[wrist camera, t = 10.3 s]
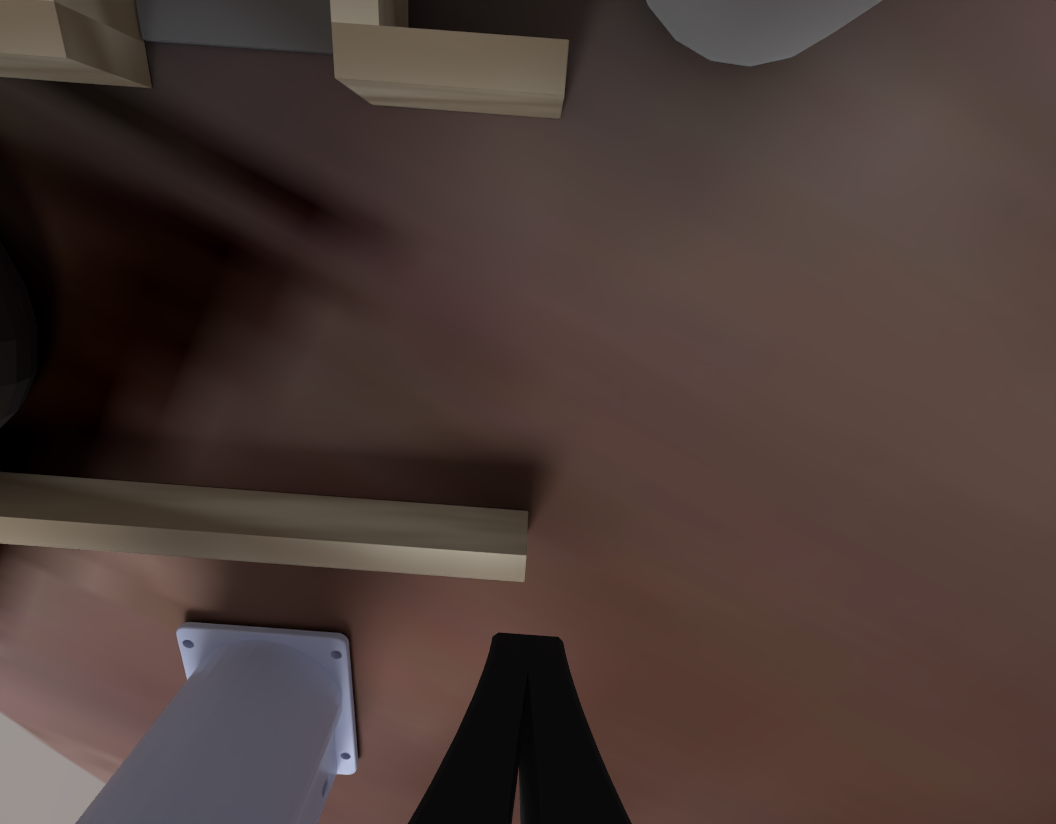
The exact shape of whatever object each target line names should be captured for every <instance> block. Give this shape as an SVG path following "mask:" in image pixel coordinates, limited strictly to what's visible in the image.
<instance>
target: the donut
mask: <svg viewBox="0 0 1056 824" xmlns="http://www.w3.org/2000/svg"><path fill="white" fill-rule="evenodd" d="M37 342H38V326H37V322H36V319H35V316H34V312H33V309H32V305H31V302H30V298H29V295H28V291H27V288H26V285H25V283H24V282H23V280H22V278H21V276H20V275H19V273H18V271H17V269H16V268H15V266H14V264H13V262H12V260H11V259H10V257H9V255H8V253H7V252H6V250H5V248H4V246H3V244H2V243H1V242H0V428H1V427H2V426H3V425H4V424H5V423H6V422H7V421H8V420H9V419H10V418H11V417H12V416H13V415H14V414H15V413H16V412H17V411H18V410H19V408H20V407H21V406H22V405H23V403H24V402H25V400H26V398H27V395H28V393H29V390H30V387H31V385H32V382H33V380H34V377H35V375H36V372H37Z"/></svg>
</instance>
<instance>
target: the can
mask: <svg viewBox="0 0 1056 824" xmlns="http://www.w3.org/2000/svg"><path fill="white" fill-rule="evenodd" d="M646 1H647V4H648V6H649V7H650V9H651V10H652V11H653V12H654V14H655V15H656V16H657V18H658V19H659V20H660V21H661V23H662V24H663V25H664V26H665V28H666V29H667V30H668V31H669V33H670V34H671V35H672V36H673V38H674V39H675V40H676V41H678V42H680V43H681V44H683V45H685V46H686V47H688V48H690V49H691V50H693V51H695V52H697V53H698V54H700V55H702V56H703V57H705V58H707V59H708V60H710V61H716V62H723V63H729V64H736V65H743V66H749V67H750V66H755V65H760V64H764V63H769V62H773V61H778V60H782V59H787V58H792V57H793V56H795V55H797V54H798V53H800V52H802V51H804V50H805V49H807V48H809V47H810V46H812V45H814V44H815V43H817V42H819V41H821V40H822V39H824V38H826V37H827V36H829V35H831V34H832V33H834V32H835V31H837V30H839V29H840V28H842V27H843V26H845V25H846V24H848V23H849V22H851V21H852V20H854V19H855V18H857V17H858V16H860V15H861V14H863V13H864V12H866V11H867V10H869V9H870V8H872V7H873V6H875V5H876V4H878V3H879V2H881V1H882V0H646Z"/></svg>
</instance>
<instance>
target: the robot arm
mask: <svg viewBox="0 0 1056 824" xmlns="http://www.w3.org/2000/svg"><path fill="white" fill-rule="evenodd" d="M176 635H177V639H178V643H179V647H180V652H181V656H182V660H183V664H184V668H185V672H186V676H187V681H186V682H185V684H184V685H183V686H182V687H181V689H180V690H179V691H178V693H177V694H176V695H175V696H174V698H173V699H172V700H171V702H170V703H169V704H168V705H167V707H166V708H165V709H164V711H163V712H162V713H161V714H160V716H159V717H158V718H157V720H156V721H155V722H154V723H153V725H152V726H151V727H150V729H149V730H148V731H147V732H146V734H145V735H144V736H143V737H142V739H141V740H140V741H139V743H138V744H137V745H136V746H135V748H134V749H133V750H132V752H131V753H130V754H129V755H128V757H127V758H126V759H125V761H124V762H123V763H122V764H121V766H120V767H119V768H118V770H117V771H116V772H115V773H114V775H113V776H112V777H111V779H110V780H109V781H108V782H107V784H106V785H105V786H104V787H103V789H102V790H101V791H100V793H99V794H98V795H97V796H96V798H95V799H94V800H93V802H92V803H91V804H90V805H89V807H88V808H87V809H86V811H85V812H84V813H83V814H82V816H81V817H80V818H79V820H78V821H77V822H76V823H75V824H318V822H319V819H320V816H321V814H322V811H323V808H324V806H325V803H326V800H327V797H328V795H329V792H330V789H331V787H332V784H333V781H334V779H335V776H336V774H345V775H350V774H353V773H355V772H356V770H357V767H358V751H357V738H356V725H355V713H354V700H353V688H352V675H351V663H350V650H349V641H348V638H347V637H346V636H345V635H343V634H341V633H333V632H320V631H306V630H293V629H279V628H266V627H252V626H239V625H225V624H212V623H198V622H185V623H183V624H182V625H181V626H180V627H179V628H178V629H177V631H176ZM337 651H339V652H337ZM518 768H519V786H520V818H521V824H632V823H631V821H630V819H629V817H628V815H627V813H626V811H625V809H624V807H623V805H622V803H621V800H620V798H619V796H618V794H617V792H616V789H615V787H614V785H613V783H612V781H611V778H610V776H609V774H608V772H607V769H606V767H605V765H604V762H603V760H602V758H601V755H600V753H599V751H598V748H597V745H596V743H595V740H594V738H593V735H592V733H591V730H590V728H589V725H588V723H587V720H586V718H585V715H584V712H583V709H582V707H581V704H580V701H579V698H578V695H577V692H576V689H575V686H574V683H573V679H572V676H571V673H570V669H569V666H568V662H567V658H566V654H565V649H564V644H563V641H562V640H561V639H560V638H559V637H551V636H538V635H524V634H511V633H497V634H496V635H494V636H493V637H492V642H491V647H490V651H489V654H488V657H487V661H486V664H485V667H484V670H483V672H482V675H481V678H480V680H479V683H478V686H477V688H476V691H475V693H474V696H473V698H472V700H471V702H470V705H469V707H468V709H467V711H466V714H465V716H464V718H463V720H462V722H461V725H460V727H459V729H458V731H457V733H456V735H455V738H454V740H453V742H452V744H451V745H450V747H449V749H448V751H447V753H446V755H445V757H444V759H443V761H442V763H441V765H440V767H439V769H438V771H437V773H436V774H435V776H434V778H433V780H432V782H431V784H430V786H429V788H428V789H427V791H426V793H425V795H424V797H423V798H422V800H421V802H420V804H419V805H418V807H417V809H416V811H415V812H414V814H413V816H412V817H411V819H410V821H409V823H408V824H512V816H513V808H514V800H515V792H516V784H517V776H518Z"/></svg>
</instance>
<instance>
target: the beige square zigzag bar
mask: <svg viewBox="0 0 1056 824" xmlns="http://www.w3.org/2000/svg"><path fill="white" fill-rule="evenodd" d="M144 40H146V41H151V42H165V43H178V44H191V45H205V46H218V47H231V48H245V49H258V50H272V51H285V52H298V53H312V54H325V55H333V58H334V74H335V78H336V79H337V80H338V81H340V82H341V83H342V84H344V85H345V86H347V87H348V88H349V89H351V90H352V91H354V92H355V93H356V94H358V95H359V96H361V97H362V98H363V99H365V100H366V101H368V102H369V103H370V104H372V105H383V106H396V107H410V108H423V109H436V110H450V111H463V112H477V113H490V114H503V115H517V116H530V117H543V118H557V119H560V117H561V112H562V106H563V100H564V94H565V82H566V70H567V58H568V46H569V40H566V39H552V38H539V37H526V36H512V35H499V34H486V33H472V32H459V31H446V30H432V29H419V28H409V27H408V0H0V77H9V78H22V79H36V80H49V81H62V82H76V83H89V84H102V85H116V86H129V87H142V88H152V84H151V78H150V73H149V67H148V61H147V56H146V50H145V44H144ZM527 531H528V511H522V510H508V509H495V508H481V507H468V506H454V505H441V504H427V503H414V502H400V501H387V500H373V499H360V498H346V497H333V496H319V495H306V494H292V493H279V492H266V491H252V490H239V489H225V488H212V487H198V486H185V485H171V484H158V483H144V482H131V481H117V480H104V479H90V478H77V477H63V476H50V475H36V474H23V473H9V472H0V543H3V544H17V545H30V546H44V547H57V548H71V549H84V550H98V551H111V552H125V553H138V554H152V555H165V556H179V557H192V558H206V559H219V560H233V561H246V562H260V563H273V564H287V565H300V566H314V567H327V568H341V569H354V570H368V571H381V572H395V573H408V574H422V575H435V576H449V577H463V578H476V579H490V580H503V581H517V582H524V578H525V566H526V553H527Z"/></svg>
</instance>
